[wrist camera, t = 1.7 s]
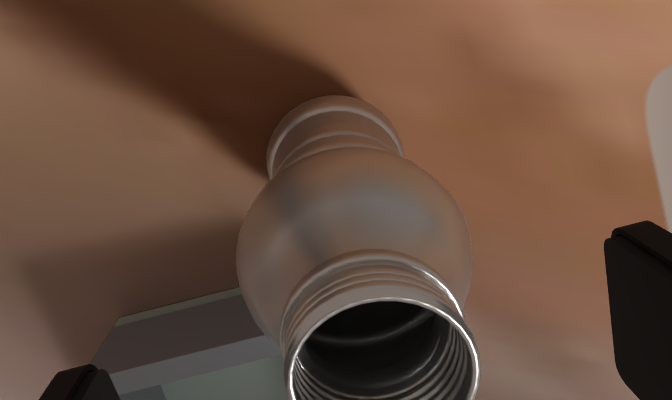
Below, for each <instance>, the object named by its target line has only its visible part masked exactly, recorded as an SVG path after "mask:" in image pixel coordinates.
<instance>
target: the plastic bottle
mask: <svg viewBox="0 0 672 400" xmlns="http://www.w3.org/2000/svg"><path fill="white" fill-rule="evenodd" d="M266 156H267V171H268V175H269V180H270V182H268V183H267V184H266V185H265V187H264V188H263V190H262V191H261V192H260V194H259V195H258V197H257V198H256V199H255V201H254V202H253V204H252V206H251V208H250V209H249V211H248V213H247V215H246V217H245V220H244V222H243V224H242V226H241V229H240V231H239V236H238V242H237V247H236V273H237V277H238V281H239V285H240V289H241V293H242V295H243V298H244V300H245V302H246V305H247V307H248V309H249V311H250V313H251V315H252V317H253V319H254V321H255V323H256V324H257V325H258V327H259V328H260V329H261V330H262V332H263V333H264V334H265V335H266V337H267V338H268V339H269V340H270V341H271V342H273V343H274V344H275V345H276V346H277V347H279V348H280V349H281V353H282V357H283V362H284V384H285V388H286V392H287V396H288V399H289V400H474V399H475V396H476V393H477V391H478V388H479V382H480V373H481V369H480V360H479V354H478V349H477V346H476V343H475V341H474V338H473V335H472V333H471V331H470V330H469V328H468V326H467V324H466V323H465V316H464V314H463V311H462V309H463V307H464V305H465V302H466V299H467V296H468V293H469V290H470V285H471V276H472V246H471V237H470V232H469V229H468V226H467V223H466V220H465V217H464V214H463V212H462V211H461V209H460V208H459V206H458V204H457V203H456V201H455V200H454V198H453V196H452V195H451V194H450V193H449V192H448V191H447V190H446V189H445V188H444V187H443V186H442V185H441V184H440V183H439V181H438V180H437V179H435V178H434V177H433V176H431V175H430V174H429V173H428V172H427V171H425V170H424V169H422V168H421V167H419V166H418V165H416V164H415V163H413V162H412V161H410V160H408V159H406V158H404V152H403V145H402V142H401V139H400V137H399V134H398V132H397V130H396V129H395V127H394V125H393V124H392V122H391V121H390V120H389V119H388V118H387V117H386V116H385V115H384V114H383V113H382V112H381V111H380V110H378V109H377V108H376V107H374V106H373V105H371V104H369V103H367V102H365V101H362V100H360V99H358V98H353V97H349V96H343V95H328V96H322V97H316V98H314V99H311V100H308V101H306V102H303V103H302V104H300V105H298V106H297V107H295V108H294V109H292V110H291V111H290V112H289V113H288V114H287V115H285V116H284V117H283V118H282V119H281V121H280V122H279V124H278V125H277V126H276V128H275V129H274V131H273V134H272V136H271V138H270V141H269V144H268V149H267V154H266Z"/></svg>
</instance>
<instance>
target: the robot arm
mask: <svg viewBox="0 0 672 400" xmlns="http://www.w3.org/2000/svg"><path fill="white" fill-rule="evenodd" d="M604 254H605V264H606V274H607V284H608V294H609V304H610V314H611V324H612V334H613V344H614V354H615V363H616V367H617V370H618V372H619V374H620V376H621V378H622V380H623V381H624V382H625V384H626V385H627V386H628V387H629V388H630V389H631V390H632V392H633V393H634V394H635V395H636V396H637V397H638V398H639V399H640V400H672V233H670V232H668V231H667V230H665V229H663V228H661V227H660V226H658V225H656V224H654V223H653V222H650V221H642V222H639V223H635V224H631V225H627V226H623V227H619V228H615V229H614V230H613V231H612V235H611V238H608V239H606V240H605V242H604ZM39 400H120V397H119V395H118V393H117V391H116V389H115V387H114V384H113V382H112V380H111V378H110V376H109V374H108V372H107V371H106V370H104V369H100V370H98V368H97V367H96V366H94V365H92V364H88V365H84V366H80V367H76V368H72V369H69V370H65V371H61V372H58V373H57V374H56V375H55V377H54V378H53V379H52V381H51V382H50V384H49V385H48V387H47V388H46V390H45V391H44V393H43V394H42V396H41V397H40V399H39Z"/></svg>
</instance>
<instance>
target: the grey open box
mask: <svg viewBox="0 0 672 400" xmlns="http://www.w3.org/2000/svg"><path fill="white" fill-rule="evenodd" d="M90 364H92V365H94V366H96V367H97V368H98V370H100V369H104V370H106V371H107V372H108V374H109V376H110V378H111V380H112V382H113V384H114V387H115V389H116V391H117V393H118V395H119V397H120V400H289V399H288V396H287V392H286V388H285V384H284V362H283V357H282V353H281V349H280V348H279V347H277V346H276V345H275V344H274V343H273V342H271V341H270V340H269V339H268V338H267V337H266V335H265V334H264V333H263V332H262V330H261V329H260V328H259V327H258V325H257V324H256V323H255V321H254V319H253V317H252V315H251V313H250V311H249V309H248V307H247V305H246V302H245V300H244V298H243V295H242V293H241V289H240V287H238V288H234V289H230V290H226V291H222V292H218V293H214V294H210V295H207V296H203V297H199V298H195V299H191V300H187V301H183V302H179V303H175V304H171V305H167V306H163V307H160V308H156V309H152V310H148V311H144V312H140V313H136V314H132V315H128V316H124V317H120V318H119V319H118V320H117V322H116V323H115V325H114V327H113V328H112V330H111V331H110V333H109V334H108V336H107V338H106V339H105V341H104V342H103V344H102V345H101V347H100V349H99V350H98V352H97V353H96V355H95V356H94V358H93V360H92V361H91V363H90Z"/></svg>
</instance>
